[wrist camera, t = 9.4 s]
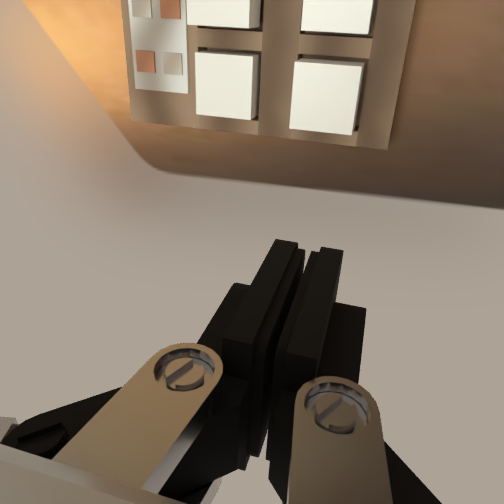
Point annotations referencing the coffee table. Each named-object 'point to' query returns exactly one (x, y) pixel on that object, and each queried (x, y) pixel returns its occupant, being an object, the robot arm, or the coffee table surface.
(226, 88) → the button
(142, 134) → the coffee table surface
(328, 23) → the button
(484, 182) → the coffee table surface
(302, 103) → the button
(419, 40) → the coffee table surface
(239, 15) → the button
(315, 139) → the button board
